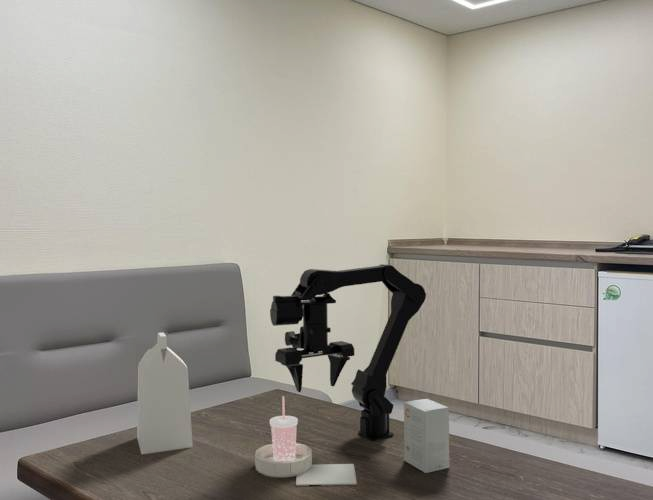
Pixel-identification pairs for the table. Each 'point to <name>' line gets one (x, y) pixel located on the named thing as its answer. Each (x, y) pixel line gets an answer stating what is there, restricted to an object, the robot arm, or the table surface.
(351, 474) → the mat
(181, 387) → the milk
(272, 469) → the bowl
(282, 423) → the beverage cup
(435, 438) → the small box
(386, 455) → the table surface
